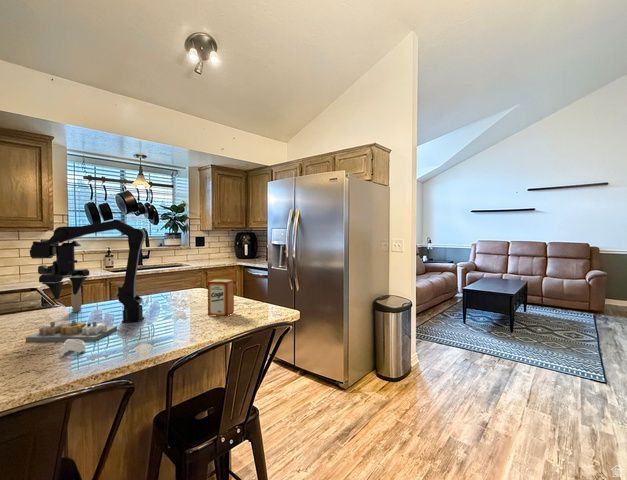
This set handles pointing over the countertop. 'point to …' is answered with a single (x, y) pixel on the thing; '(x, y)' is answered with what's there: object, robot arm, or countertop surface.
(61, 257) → the robot arm
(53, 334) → the gear board
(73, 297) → the handle
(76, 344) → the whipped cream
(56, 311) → the countertop surface
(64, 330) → the brass gear
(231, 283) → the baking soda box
